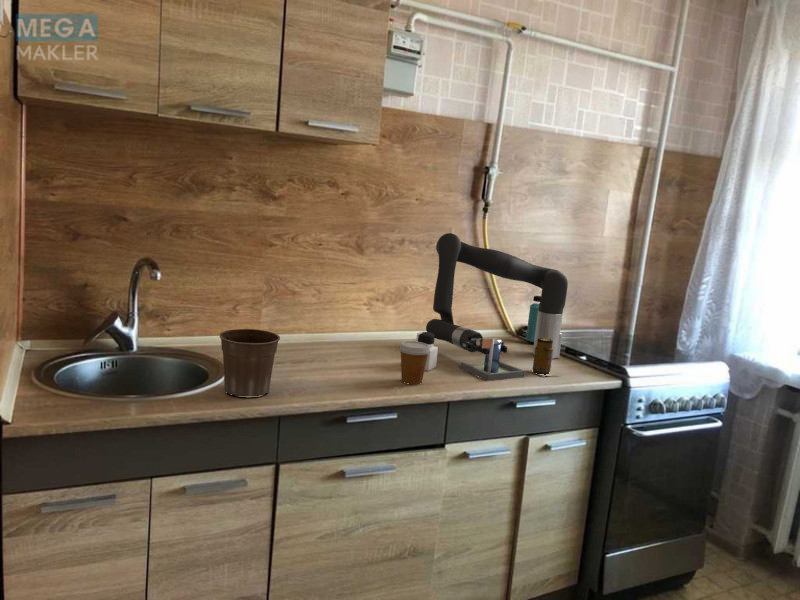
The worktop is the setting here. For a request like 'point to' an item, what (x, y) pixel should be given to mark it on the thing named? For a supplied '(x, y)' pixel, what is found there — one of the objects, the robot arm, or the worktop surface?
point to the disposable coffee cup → (413, 361)
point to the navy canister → (493, 356)
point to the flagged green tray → (504, 369)
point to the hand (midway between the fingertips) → (497, 350)
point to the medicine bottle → (432, 355)
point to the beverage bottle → (533, 319)
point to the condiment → (542, 356)
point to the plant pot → (248, 360)
